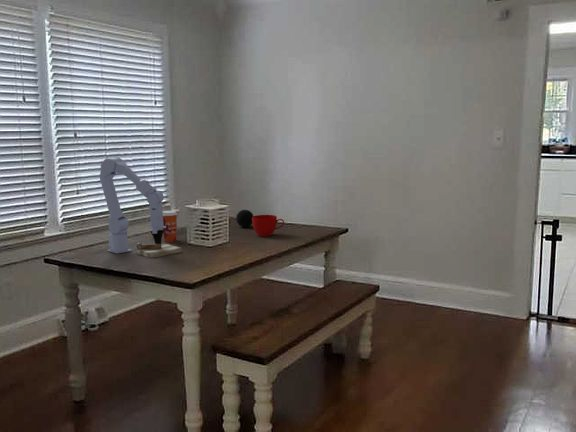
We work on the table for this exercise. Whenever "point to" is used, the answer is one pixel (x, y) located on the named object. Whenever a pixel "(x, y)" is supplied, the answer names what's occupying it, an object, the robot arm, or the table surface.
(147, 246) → the folding leg
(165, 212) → the coffee cup
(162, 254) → the cream flat block
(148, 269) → the table surface
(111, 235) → the robot arm
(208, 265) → the table surface
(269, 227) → the ceramic cup
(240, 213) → the decorative ball
